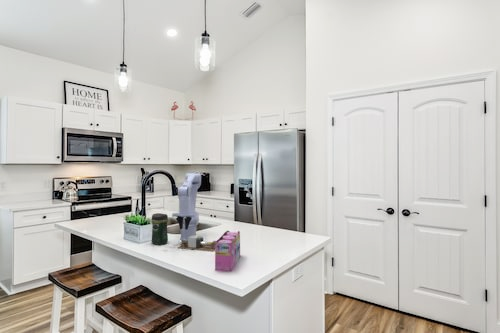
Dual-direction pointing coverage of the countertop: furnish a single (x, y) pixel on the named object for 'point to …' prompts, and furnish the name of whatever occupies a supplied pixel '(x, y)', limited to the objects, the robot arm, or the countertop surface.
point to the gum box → (227, 251)
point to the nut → (199, 242)
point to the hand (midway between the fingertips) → (184, 229)
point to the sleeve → (193, 241)
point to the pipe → (200, 243)
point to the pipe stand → (203, 248)
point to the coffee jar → (159, 228)
